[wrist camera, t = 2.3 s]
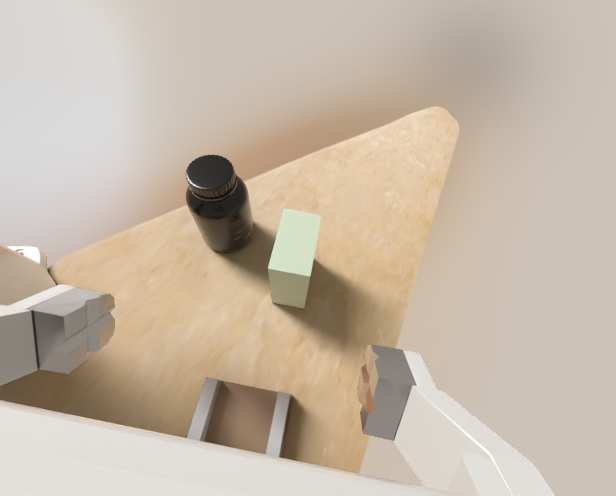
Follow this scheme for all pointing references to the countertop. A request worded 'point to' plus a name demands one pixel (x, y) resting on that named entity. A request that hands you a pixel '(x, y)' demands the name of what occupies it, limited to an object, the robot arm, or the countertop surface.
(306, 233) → the pale green block
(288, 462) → the robot arm
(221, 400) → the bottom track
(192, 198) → the supplement bottle
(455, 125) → the countertop surface
